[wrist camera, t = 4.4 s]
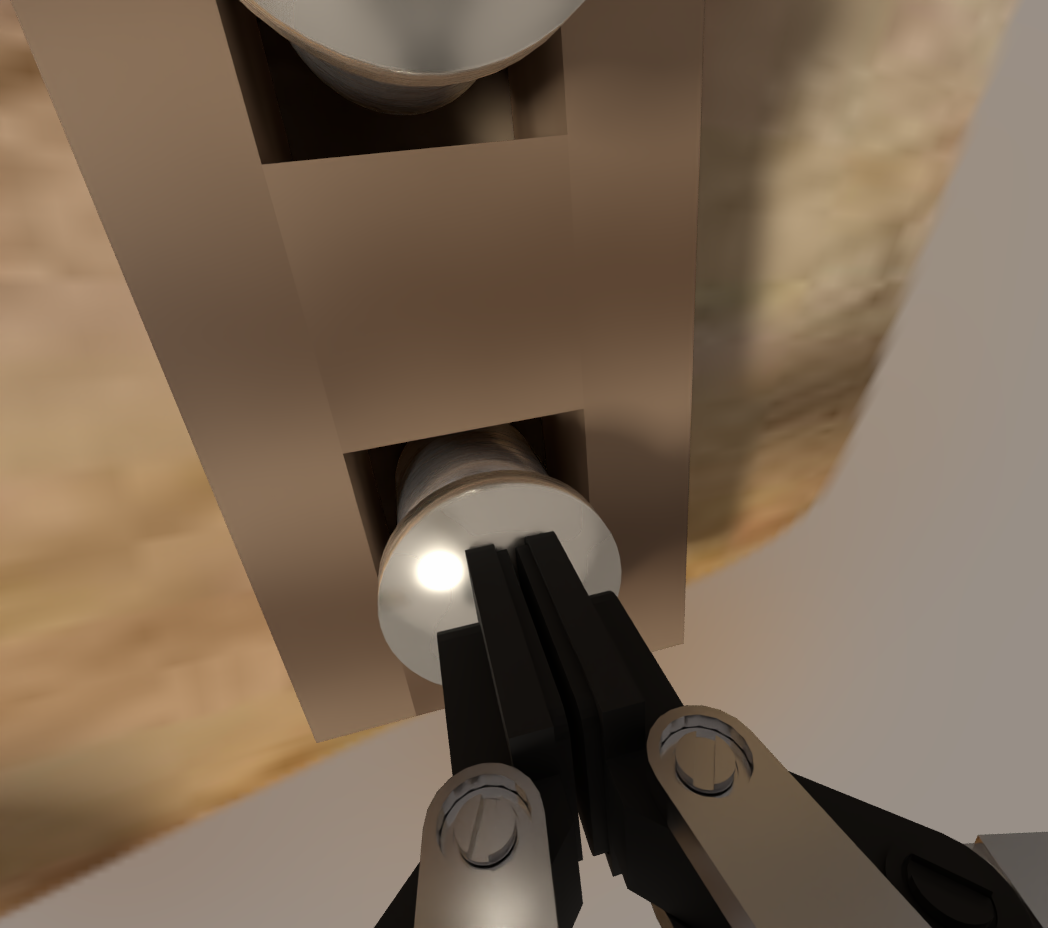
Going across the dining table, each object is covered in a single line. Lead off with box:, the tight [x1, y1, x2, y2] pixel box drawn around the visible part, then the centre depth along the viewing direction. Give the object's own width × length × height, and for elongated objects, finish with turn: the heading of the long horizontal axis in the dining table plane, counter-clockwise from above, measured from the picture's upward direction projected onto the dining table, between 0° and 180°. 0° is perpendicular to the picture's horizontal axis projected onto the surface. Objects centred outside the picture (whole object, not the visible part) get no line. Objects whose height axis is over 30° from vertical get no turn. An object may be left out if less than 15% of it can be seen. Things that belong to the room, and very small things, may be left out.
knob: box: [378, 423, 621, 685], centre depth 12 cm, size 5×5×5 cm
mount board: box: [10, 0, 705, 743], centre depth 12 cm, size 20×10×4 cm, turn 6°
